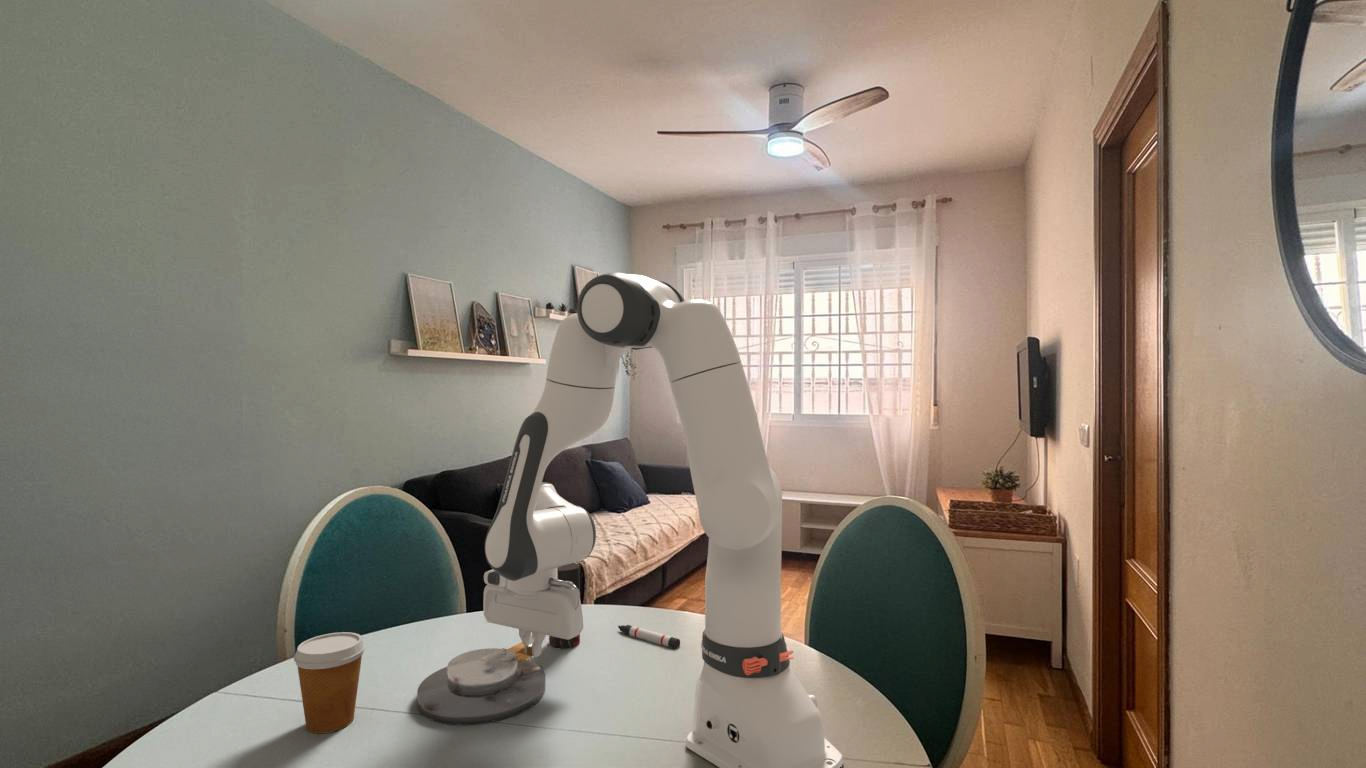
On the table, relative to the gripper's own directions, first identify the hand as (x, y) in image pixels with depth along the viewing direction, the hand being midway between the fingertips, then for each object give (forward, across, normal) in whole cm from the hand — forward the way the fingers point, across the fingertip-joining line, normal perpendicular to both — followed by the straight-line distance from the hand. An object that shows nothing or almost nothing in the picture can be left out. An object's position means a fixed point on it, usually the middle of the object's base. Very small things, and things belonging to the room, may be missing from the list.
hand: (532, 655), depth 116 cm
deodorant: (+4, +5, -14) cm, 15 cm away
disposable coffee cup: (+4, +15, +27) cm, 31 cm away
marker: (+4, -8, -24) cm, 25 cm away
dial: (+1, +2, +6) cm, 6 cm away
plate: (+4, +2, +10) cm, 10 cm away
